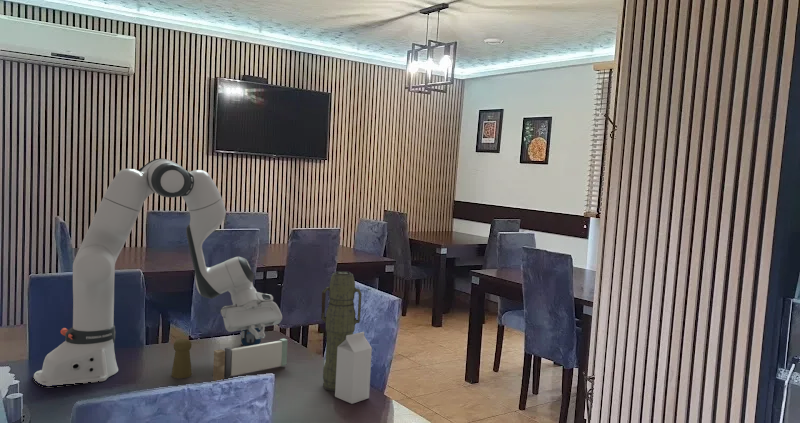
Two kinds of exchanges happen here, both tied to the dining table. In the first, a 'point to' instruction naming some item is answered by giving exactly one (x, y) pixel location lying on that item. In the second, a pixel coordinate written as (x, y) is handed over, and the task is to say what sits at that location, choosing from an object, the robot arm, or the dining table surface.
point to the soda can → (249, 338)
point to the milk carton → (353, 369)
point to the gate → (255, 357)
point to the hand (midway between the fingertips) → (260, 337)
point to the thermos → (338, 320)
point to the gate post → (218, 364)
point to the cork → (182, 359)
